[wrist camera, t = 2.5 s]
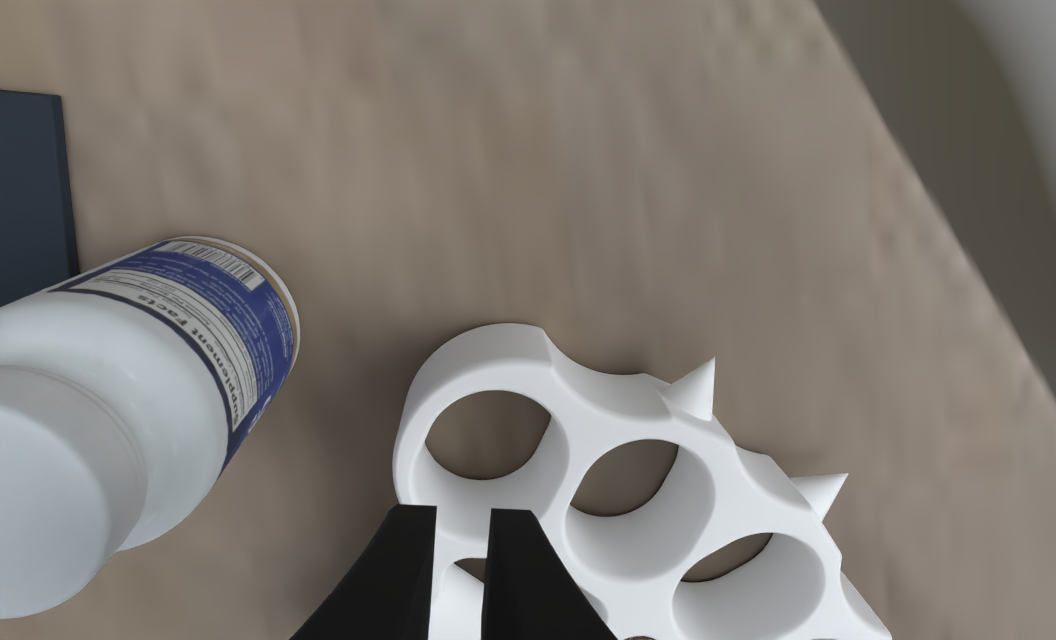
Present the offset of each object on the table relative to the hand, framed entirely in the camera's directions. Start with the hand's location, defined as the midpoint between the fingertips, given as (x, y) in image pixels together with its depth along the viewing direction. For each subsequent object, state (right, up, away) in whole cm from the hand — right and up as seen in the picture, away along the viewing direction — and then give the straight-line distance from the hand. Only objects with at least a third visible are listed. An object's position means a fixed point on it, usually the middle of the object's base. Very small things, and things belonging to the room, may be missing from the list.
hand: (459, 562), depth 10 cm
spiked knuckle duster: (+4, -4, +13) cm, 14 cm away
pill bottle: (-8, +4, +9) cm, 13 cm away
